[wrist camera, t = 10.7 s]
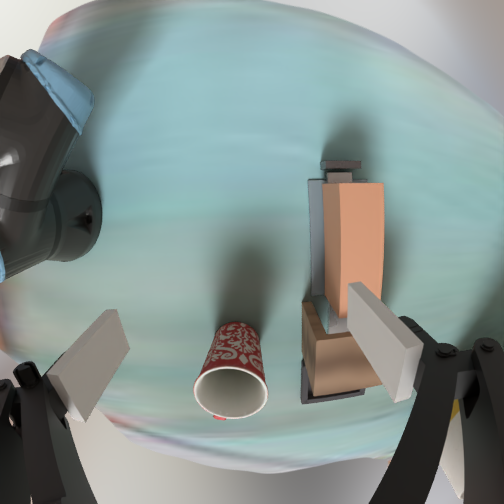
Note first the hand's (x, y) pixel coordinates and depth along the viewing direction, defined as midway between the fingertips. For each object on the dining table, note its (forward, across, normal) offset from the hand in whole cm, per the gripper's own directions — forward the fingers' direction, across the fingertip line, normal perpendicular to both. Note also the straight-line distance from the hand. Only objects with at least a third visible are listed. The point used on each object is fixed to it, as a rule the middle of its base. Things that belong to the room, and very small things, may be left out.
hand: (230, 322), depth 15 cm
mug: (+26, -4, -18) cm, 32 cm away
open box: (+25, +14, -16) cm, 33 cm away
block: (+24, +14, -2) cm, 28 cm away
